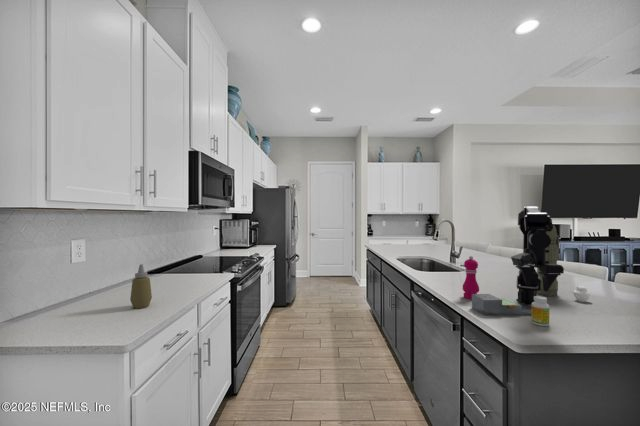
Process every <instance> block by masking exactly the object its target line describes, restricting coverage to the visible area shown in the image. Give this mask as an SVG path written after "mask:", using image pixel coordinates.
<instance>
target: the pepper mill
mask: <svg viewBox="0 0 640 426" xmlns="http://www.w3.org/2000/svg"><path fill="white" fill-rule="evenodd" d="M463 265H464V268H465V271H464V272H465V279H464V282H463V284H462V291H463V298H464V299H468V300H472V294H479V292H480V286H479V284H478V281H477V279H476V277H477V276H476V275H477V273H478V272H477V271H478V270H477V269H478V268H479V267H478V266H479V264H478V261H477V260H475V259H474V257H473V256H472V255H470V256H468V259H466V260H465V261H464V263H463Z"/></svg>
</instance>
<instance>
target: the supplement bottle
mask: <svg viewBox="0 0 640 426" xmlns="http://www.w3.org/2000/svg"><path fill="white" fill-rule="evenodd" d="M534 301H535V302H532V304H530V306H531V315H530V316H531V319H530V321H531V323H532V324H534V325H536V326H541V327H548V326H550V305H549V304H548V298H547V297H545V296H542V295H537V296H534Z"/></svg>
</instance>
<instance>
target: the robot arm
mask: <svg viewBox="0 0 640 426" xmlns="http://www.w3.org/2000/svg"><path fill="white" fill-rule="evenodd" d="M539 209H540V208H539V207H538V206H534V205H532V206H531V205H530V206H529V205H528V206H524V207H523V210H522V211H520V212H519V213H518V215H517V225H518V226H519V227H518V228H519V231H520V232H521V233H522V235H523V237H522V239H523V240H522V241H523V242H522V243H523V244H522V252H521V253H517V254H515V255H512V256H510V259H511V261H512V265H513V266H515V268H517V269H518V274H516V282H515V283H516V286H515V287H516V288H517V289H518V291H517V298H516V299H515V300H516V301H517V302H518V303H524V304H527V305H532V302H535V301H534V296H538V294H537V291H540V290H541V280H540V277H538V274H537V269H536V268H539V270H540V272H539V274H540V275H541V276H542V280H543V290H544V291H545V292H547V291H548V290H549V288H550V287H551V285H552V283H553V282H554V281H555V279H556V278H557V279H558V277H559V276H561V275H562V274H564V273H565V268H564V266H562V265H561V264H558V263H557V264H549V261H546V253H549V250H547V249H546V248H547V247H548V246H549V245H550V243H551V239H550V237H549V235H547V234H546V231H552V230H551V229H553V225H554V224H553V219H552V218H551V216H550V215H548V212H542V211H540V210H539ZM547 226H548V227H547ZM538 265H539V266H538Z"/></svg>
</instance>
